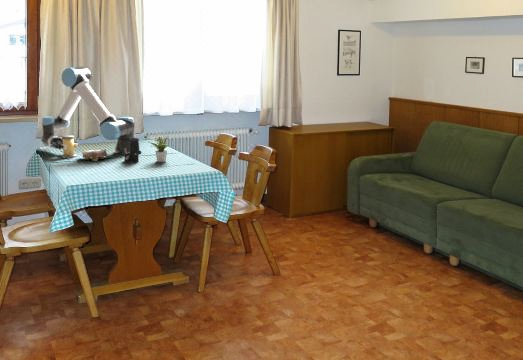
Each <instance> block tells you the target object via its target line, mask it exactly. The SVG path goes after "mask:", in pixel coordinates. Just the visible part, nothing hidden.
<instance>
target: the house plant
mask: <svg viewBox="0 0 523 360" xmlns="http://www.w3.org/2000/svg"><path fill="white" fill-rule="evenodd" d="M169 139H170V135H169V136H168V135H167V136H164V137H162V135H157V136H156V135H155V138H154V137H152V140H153V141H154V142H155V143H154V142H149V141H148V142H147V143H149V144H150V148H151V147H154V148H155V149H156V150H155V151H154V152H155V157H156V161H157V163H164V162H167V154H168V150H165V149H166V148H167V147H169V146H171V145H170V144H166V143H167V141H169Z"/></svg>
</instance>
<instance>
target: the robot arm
mask: <svg viewBox="0 0 523 360" xmlns="http://www.w3.org/2000/svg"><path fill="white" fill-rule="evenodd" d="M92 79H93V76H92V73H91V70H90V69H89V68H87V67H85V66H76V67H75V66H74V67H71V66H70V67H66V68H65V69H64V70H63V71H62V73H61V82H62V84H63V85H64V86H65V87H67V88H70V89H71V91H70V92H69V94H68V96H67V98H66V100H65V102H64V103H63V106H62V107H61V109H60V111H59V112H58V115H57V117H54V116H51V115H50V116H43V117H42V118H41V121H42V122H41V125H42V136H41V138H40V141H41V143H42V144H43V145H44V146H45V147H50V148H53V149H57V150H62V149H65V150H67V145H64V144H63V139H62V137H60V136H56V131H57V130H62V129H65V128H68V127H69V126H70V122H71V120H70V119H71V117H72V115H73V113H74V111H75V110H76V108H77V106H78V104H79V102H80V100H82V101H83V102H84V104H85V105H86V106H87V108H88V109H89V110H90V111H91V113H92V114H93V116H94V117H95V119H96V120H97V121H98V126H99V133H100V135H101V137H103V139H105V140H108V141H116V142H115V146H114V154H116V155H117V154H118V155H124V152H125V148H126V152H127V153H128V152H130V142H131V141H130V139H131V138H136V129H135V128H136V127H135V119H134V118H133V117H128V116H127V117H126V116H125V117H123V116H122V117H121V116H117V117H116V115H114V114H111V113H110V111H109V110H108V109H107V107H106V106H105V105H104V104H103V102H102V101H101V100H100V98H99V97H98V96H97V94H96V93H95V92H94V90H93V88H92V87H91V83H92V81H93V80H92ZM75 148H76V149H79V143H78V142H77V141H75V140H74V149H75Z"/></svg>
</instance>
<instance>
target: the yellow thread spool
mask: <svg viewBox="0 0 523 360" xmlns="http://www.w3.org/2000/svg"><path fill="white" fill-rule="evenodd" d="M61 138H62V139H63V144H64V145H67V150H65V149H63V153H62V155H61V158H63V159H73V158H74V157H75V158H77V154H76V153H75V148H74V141H75V140H74V138H75V135H62V136H61Z"/></svg>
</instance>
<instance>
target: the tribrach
mask: <svg viewBox="0 0 523 360" xmlns="http://www.w3.org/2000/svg"><path fill="white" fill-rule="evenodd" d="M81 152H82V153H81V154H82V158H83V159H84V160H92V162H98V161H99V159H102V160H103V159H105V157H108V153H107V150H106V149H92V150H90V149H88V150H82V151H81Z"/></svg>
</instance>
